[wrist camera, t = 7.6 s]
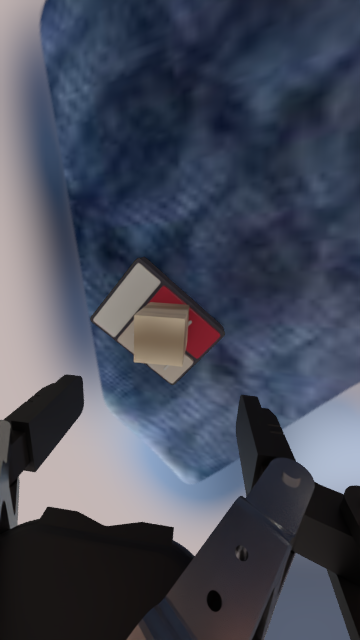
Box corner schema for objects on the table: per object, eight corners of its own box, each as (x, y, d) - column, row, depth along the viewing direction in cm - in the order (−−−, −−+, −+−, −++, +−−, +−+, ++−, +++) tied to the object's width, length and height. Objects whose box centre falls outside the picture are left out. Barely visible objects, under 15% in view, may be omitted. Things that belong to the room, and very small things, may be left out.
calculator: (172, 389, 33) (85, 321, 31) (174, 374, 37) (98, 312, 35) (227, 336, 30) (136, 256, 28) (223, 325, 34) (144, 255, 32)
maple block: (149, 302, 30) (134, 315, 23) (189, 304, 29) (185, 318, 22) (149, 339, 31) (133, 362, 24) (187, 342, 30) (182, 366, 24)
